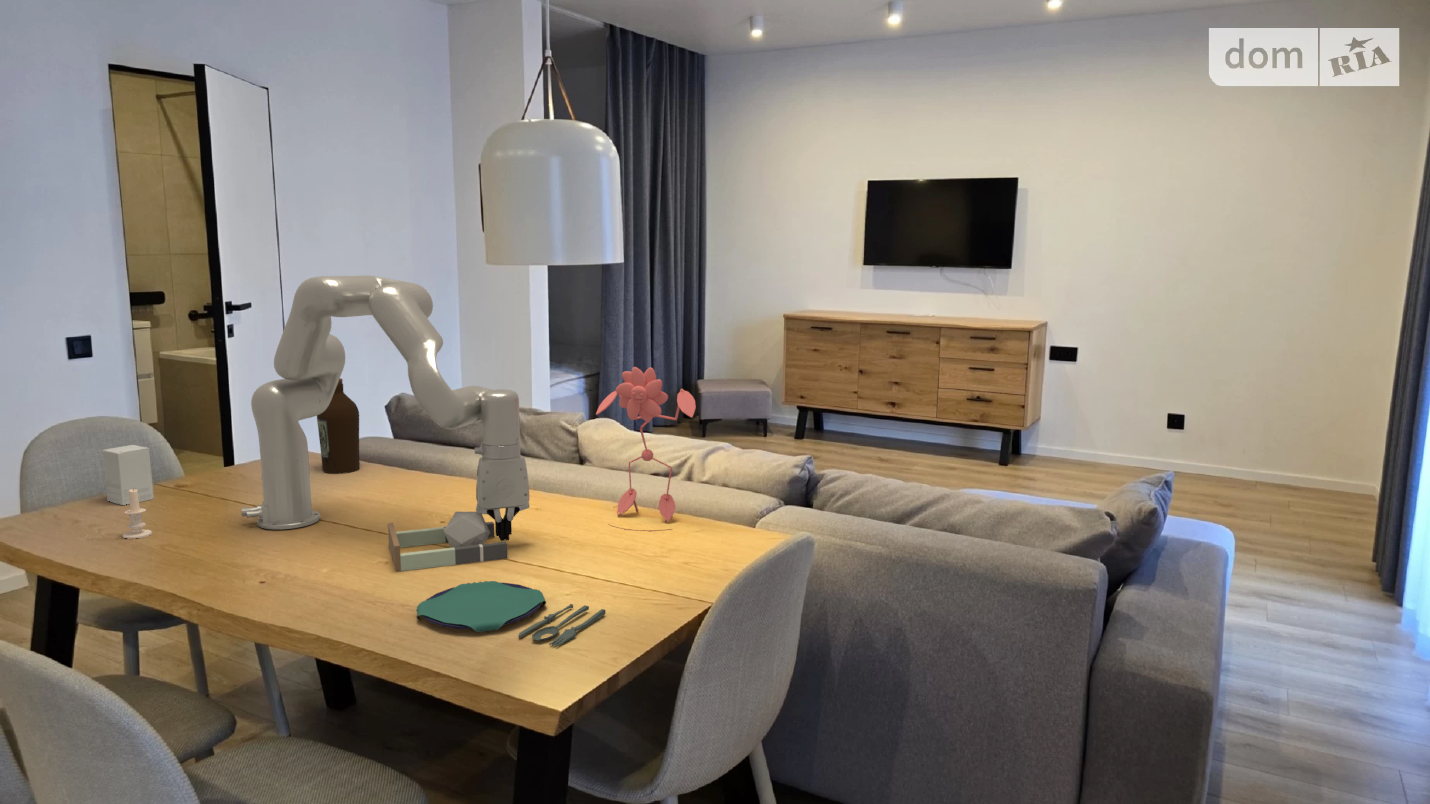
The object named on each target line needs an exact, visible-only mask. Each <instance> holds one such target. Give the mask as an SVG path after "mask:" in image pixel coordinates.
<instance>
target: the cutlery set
mask: <svg viewBox="0 0 1430 804" xmlns="http://www.w3.org/2000/svg"><path fill="white" fill-rule="evenodd" d="M546 604H547V601H546V599H545V595H544V594H543V592H542V591H541V590H540V589H536V588H532V587H527V586H525V585H522V584H517V583H512V582H511V583H510V582H509V583H508V582H500V581H495V580H489V581H488V580H485V581H479V582H478V581H477V582H475V581H474V582H467V583H460V584H458V585H456V586H454V587H451V588H447V589H445V590H442V591H439V592H437V593H435V594H433V595H432V596H430V597H428V598H427V599H425V600H423V601H421V602H419V604H418V605H417V606H416V619H417V620H418V621H419V620H420V618H421V617H422V618H424V619H425V620H426V621H427V622H428V623H432V624H434V625H437V626H439V627H442V628H448V629H449V628H450V629H457V630H473V631H475V632H477V633H482V632H483V633H484V632H491V631H498V630H499V629H500V628H501V627H502V626H506V625H510V624H514V623H516V622H517V623H518V622H519V621H521V620H524V619H527V618H528V617H530V616H531V615H533V614H535V613H536V612H537V611H538V610H540V607H541V605H542V606H543V607H544V606H546ZM569 609H574V604H572V603H569V605H567V606H565V608H562V609H561V610H558V611H556V612H555V613H549V614H548V616H545V615H544V616H543V617H544V618H543V619H542V620H539V621H538V622H536V623H534V624H532V625H530V626H528V627H527V628H524V630H522V631H520V632H519V634H518V638H519V639H520V638H522V637H524V636H526V635H528V634H529V633H531V632H533V631H534V630H536V629H538V628H539V627H541V626H543V625H545V624H551V621H552V620H555V618H556V617H557V616H558V615H560V614H562V613H564V612H565V611H566V610H569ZM589 609H590V606H589V605H583V606H582V607H580V608H579V609H577V610H575V611H574V612H573V613H571V614H569V616H567V617H566V618H565V619H563V620H562V621H561V622H559V623H558V624H557V625H549V626H545V627H542V628H540V629H538V630H536V631H535V632H534V633H532V635H531V640H535V641H539V642H540V641H546V640H550V639H553V638H554V637H555V636H557V634H558V633H559V631H560V628H561V627H562V626H564V625H565V624H567V623H568V622H570V621H571V620H572V619H575V618H576V617H577V616H579V615H581V614H582V613H583V614H584V613H585V612H587V611H589ZM605 615H606V609H604V608H601V609H600V610H598V611H597V612H595V613H594V614H593V615H591V617H589V618H588V619H587V620H585V621H584V622H583V623H580V624H578V625H576V626H571V627H570V628H568V629H567V628H566V629H565V630H564V631H563V632H562V633H561V634H560V635H558V636H557V637H556V638H555V639H554V640H553V641H551V642H549V643H548V645H549V646H555V647H559V646H562V645H563V644H564V643H566V642H568V641H570V640H572V639H574V638H575V637H576V636H577V632H578V631H579V630H582V629H584V628H587V627H588V626H590V625H591V624H593V623H594V622H596V621H597V620H598V619H601V617H603V616H605ZM420 616H421V617H420ZM549 634H550V636H548V637H546V638H542V637H543V636H544V635H549Z"/></svg>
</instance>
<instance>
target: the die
mask: <svg viewBox="0 0 1430 804" xmlns="http://www.w3.org/2000/svg"><path fill="white" fill-rule="evenodd" d="M483 515H484V514H479V513H477V512H476V511H454V514H453V515H452V517H451V518H450V519H449V522H447V525H446V526H445V527H446V528H445V529H444V531H443V532H444V534H445V536H446V538H447V540H448V544H449V548H453V547H462V546H471V545H480V544H486V541H487V539H489V538H488V536H489V534H490V531H489V529H488V527H487V524H486V522H487V521H486V520H485V518H484V516H483Z"/></svg>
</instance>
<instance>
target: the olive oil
mask: <svg viewBox="0 0 1430 804" xmlns="http://www.w3.org/2000/svg"><path fill="white" fill-rule="evenodd" d="M316 421H317V428H318V430H317V431H318V437H319V438H318V439H319V445H320V447H319V448H320V455H321V467H322V468H321V469H322V472H324V473H326V474H347V473H352V472H355V471H356V472H357V471H358V470H359V469H360V467H361V466H360V465H361V464H360V462H361V460H360V412H359V408H358V406H357V404H356V403H355V402H354V401H353V400H352V399H351V398H350V397H349V396H348V395H347V394H346V393H345V392H344V383H343V378H341V377H340V379H339V381H338V384H337V387H336V389H335V392H334V394H333V397H332V399H331V402H330V404H329V406H328V407H327V409H326V410H325V411H324V412H323V413H321V414H319V415H317V416H316Z"/></svg>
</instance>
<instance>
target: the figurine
mask: <svg viewBox="0 0 1430 804" xmlns="http://www.w3.org/2000/svg"><path fill="white" fill-rule="evenodd" d="M621 376H622V379H623V383H619V385H617V386H616V387H615V390H614V391H612V392H610V394H608V395H607V396H606V397H605V398H604V399H603V400H602V401H601V402H600V404H599V406H598V408H597V410H596V413H595V415H596V416H598V415H600V414H601V413H603V412H604V411H605V410H607V409H608V408H609V406H611V405H612V403H614V401H615V399H616V398H617V396H619V401H618V404H619V407H620V408H621V409H626V414H627V416H628V418H629V420H630V421H635V420H641V419H642V420H643V421H645V422H643V424H641V425H640V428H639V432H640V435H641V439H642V443H643V445H644V450H642V452H641V454H640V456H639V457H637V458H634V459H633V460H631V461H629V462H628V475H629V477H628V479H629V489H628V490H626V491H625V492H624V493H623V494H622V495H621V497H620V499H619V501H618V503H617V506H614V507H612V508H613V509H614V508H616V509H617V511H616V513H617V515H616V516H618V517H619V516H621V515H623V514H624V513H626V512H627V511H629V509H630V508H631V507H632V506H633V505H634V509H635V511H636V513H639V509H638V505H637V502H636V498H637V491H636V489H635V488H633V487H632V476H631V464H632V463H634V462H636V461H638V460H640V459H642V460H643V461H645V462H650V461H652V460H653V461H655V462H656V463H657V462H658V463H660V464H662V465H664V466H665V467H668V468H670V470H669V476H668V480H667V481H668V482H667V487H666V488H667V489H666V493H663V494H662V495H661V496H660V498H659V501H658V510H659V513H660V515H661V516H662V518H663V519H664V521H666V522H667V523H669V522H670V520H671V519H672V518H673V517H674V516H673V515H674V513H675V510H676V503H675V502H676V501H675V500H674V498H673V496H672V495H671V494H669V489H670V484H671V478H672V473H673V472H672V471H673V467H672V466H670V464H666V463H665V462H662V461H660V460H658V459H656V458H654V452H653V451H652V450H651V449H648V447H647V443H646V439H645V435H644V431H643V428H644V427H645V426H646V425H647V424H648V423H650V422H652V419H653V418H656V417H657V418H660V419H666V420H670V421H676V422H677V420H678V418H679V413H680V411H681V413H683V414H685V415H686V416H687V417H690V418H691V419H693V417H694V414H695V411H696V409H697V407H696V405H697V404H696V400H695V398H694V396H693V395H692V394H691V393H690V392H689V391H688V390H684V388H680V390H679V392H678V393H677V397H676V402H677V406H676V412H675V417H672V416H667V415H662V412H663V411H662V408H661V406H660V405H663V404H665V403H666V402H667V401H668V399H669V394H667V393H666V392H664V391H662V389H663V381H662V380H661V379H660V378H659V379H658V378H657V374H656V371H655V369H654V368H653V367H648V368H647V369H646V370H645V371H642V370H641V369H640V368H638V367H637V366H632V369H631V371H628V370H625V371H623V372H622V373H621ZM607 525H609V526H610V527H614V528H617V529H622V530H623V531H632V529H629V528H624V527H618V526H614V525H611V524H610V523H607ZM671 530H673V528H671V529H670V528H669V529H666V531H671ZM634 531H636V532H648V533H650V532H659V531H661V532H663V531H664V529H657V530H656V529H655V530H645V529H644V530H642V529H641V530H639V529H634Z"/></svg>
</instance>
